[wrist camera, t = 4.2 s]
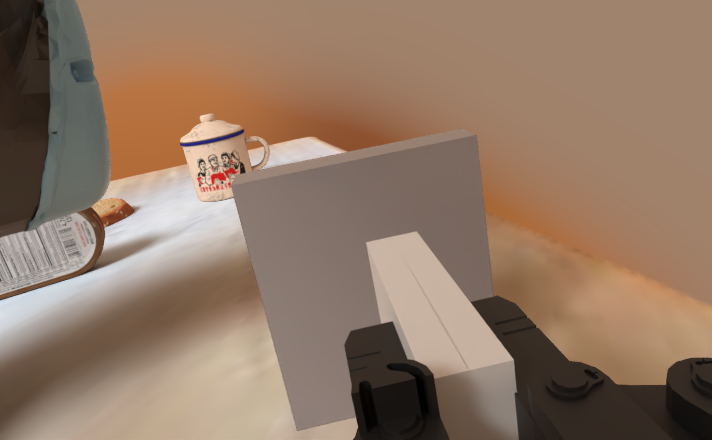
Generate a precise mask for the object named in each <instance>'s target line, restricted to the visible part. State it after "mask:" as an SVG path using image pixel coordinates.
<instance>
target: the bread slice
mask: <svg viewBox="0 0 712 440" xmlns="http://www.w3.org/2000/svg"><path fill="white" fill-rule="evenodd" d="M91 207H92V208H93V209H94V210H95V211H96V212H97V214H98V215H99V216H100V218H101V220H102V222H103V225H104V228H105V227H107V226H110V225H112V224H114V223H116V222H118V221H120V220H122V219H124V218H126V217H128V216H129V215H131V214H132V213H133V211H134V209H133V208H132V207H131V206H130V205H129V204H128V203H126V202H125V201H124V200H122V199H114V198H111V199H105V200H100V201H98V202H97V203H96V204H94V205H93V206H91Z"/></svg>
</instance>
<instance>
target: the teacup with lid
mask: <svg viewBox="0 0 712 440" xmlns="http://www.w3.org/2000/svg"><path fill="white" fill-rule="evenodd" d="M214 119H215V117H214V115H213V114H206V115H202V116H201V117H200V121H201V122H202V123H201V124H198V125H196V126H195V127H194V128H193V129H192V131H191V132H190V133H188V134H187V135H185V136H183V137H182V138H181V140H180V142H181V143H180V145H181V146H183V149H184V153H185V156H186V160H187V163H188V166H189V170H190V173H191V177H192V180H193V183H194V187H195V190H196V193H197V197H198V199H199V200H200V201H204V202H213V201H220V200H226V199H230V198H234V196H233V192H232V188H231V184H232V182H233V180H234V178H235V176H236V175H238V174H243V173H248V172H253V171H257V170H259V169H261V168H263V167H264V166H265V165H266V163H267V161H268V159H269V146H268V144H267V142H266V141H265V140H264V139H262V138H260V137H257V136H252V137H248V138H244V135H243V133H244V130H243V129H242V127H241V126H240V125H233V124H229V123H227V122H224V121H221V120H214ZM252 141H258V142H260V143H262V144H263V146H264V149H265V154H264V158H263V160H262V162H261V163H259V164H258V165H255V166H252V167H251V163H250V159H249V155H248V151H247V147H246V143H248V142H252Z"/></svg>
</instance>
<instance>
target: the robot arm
mask: <svg viewBox="0 0 712 440" xmlns="http://www.w3.org/2000/svg"><path fill="white" fill-rule="evenodd" d="M93 72H94V66H93V62H92V58H91V51H90V45H89V41H88V37H87V33H86V30H85V26H84V23H83V20H82V16H81V13H80V10H79V7H78V4H77V2H76V0H0V237H4V236H7V235H11V234H15V233H19V232H28V231H31V230H35V229H37V228H38V227H40V226H41V224H43V223H46V222H49V221H52V220H55V219H58V218H61V217H64V216H67V215H70V214H73V213H76V212H79V211H82V210H85V209H88V208H89V207H91V206H93V205H94V204H96V203H97V202H98V201H99V200H100V199H101V198H102V197H103V196H104V194H105V193H106V190H107V188H108V186H109V182H110V175H111V161H110V148H109V139H108V132H107V125H106V119H105V113H104V108H103V103H102V98H101V93H100V89H99V84H98V82H97V80H96V78H95V76H94V74H93ZM366 245H367V251H368V256H369V261H370V267H371V272H372V277H373V283H374V288H375V293H376V299H377V304H378V309H379V315H380V320H381V324H378V325H374V326H369V327H365V328H360V329H356V330H352V331H350V333H349V335H348V338H347V340H346V342H345V344H344V347H345V352H346V358H347V363H348V368H349V373H350V379H351V384H352V389H351V396H352V401H353V405H354V410H355V415H356V419H357V424H358V429H357V433H356V436H355V438H354V439H353V440H712V358H689V359H685V360H682V361H678V362H676V363H675V364H674V365H672V366H671V367H670V368H669V369H668V373H667V379H666V385H618V384H615V383H614V382H613V381H612V380H611V379H610V378H609V377H608V376H607V375H606V374H604V373H603V372H601V371H600V370H598V369H597V368H595V367H592V366H589V365H587V364H584V363H581V362H572V361H569V360H568V359H567V358H566V357H565V356H564V355H563V354H562V353H561V352H560V351H559V350H558V348H557V347H556V346H555V345H554V344H553V343H552V342H551V341H550V340H549V339H548V338H547V337H546V336H545V335H544V334H543V333H542V331H541V330H540V329H539V328H536V325H535V324H534V323H533V322H532V321H531V320H530V319H529V318H527V316H526V314H525V313H524V312H523V311H522V310H521V309H520V308H519V307H518V306H517V305H516V304H515V303H512V302H510V301H508V300H506V299H504V298H501V297H499V296H494V297H490V298H485V299H481V300H476V301H472V302H470V301H469V300H468V299H467V297H466V296H465V295H464V293H463V292H462V291H461V289H460V288H459V287H458V285H457V284H456V283H455V281H454V280H453V279H452V277H451V276H450V275H449V274H448V272H447V271H446V270H445V268H444V267H443V266H442V264H441V263H440V262H439V260H438V259H437V258H436V256H435V255H434V254H433V252H432V251H431V250H430V248H429V247H428V246H427V244H426V243H425V242H424V240H423V239H422V238H421V236H420V235H419V234H418V233H417V231H416V232H411V233H407V234H402V235H397V236H393V237H388V238H384V239H379V240H374V241H370V242H366Z"/></svg>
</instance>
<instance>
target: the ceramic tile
mask: <svg viewBox="0 0 712 440" xmlns="http://www.w3.org/2000/svg"><path fill="white" fill-rule="evenodd" d="M231 188H232V192H233V196H234V199H235V203H236V207H237V210H238V214H239V218H240V221H241V225H242V229H243V233H244V236H245V240H246V244H247V247H248V251H249V255H250V258H251V262H252V266H253V269H254V273H255V277H256V281H257V284H258V288H259V292H260V295H261V299H262V303H263V306H264V310H265V314H266V317H267V321H268V325H269V329H270V332H271V336H272V340H273V343H274V347H275V351H276V354H277V358H278V362H279V366H280V369H281V373H282V377H283V380H284V384H285V388H286V391H287V395H288V399H289V402H290V406H291V410H292V414H293V417H294V421H295V425H296V428H297V431H300V430H304V429H308V428H312V427H316V426H320V425H325V424H329V423H333V422H337V421H341V420H346V419H350V418H354V417H356V415H355V410H354V405H353V401H352V396H351V389H352V384H351V379H350V373H349V368H348V363H347V358H346V352H345V347H344V344H345V342H346V340H347V338H348V335H349V333H350V331H352V330H356V329H360V328H365V327H369V326H374V325H378V324H381V320H380V315H379V309H378V304H377V299H376V293H375V288H374V283H373V277H372V272H371V267H370V261H369V256H368V251H367V245H366V242H370V241H374V240H379V239H384V238H388V237H393V236H397V235H402V234H407V233H411V232H416V231H417V233H418V234H419V235H420V236H421V238H422V239H423V240H424V242H425V243H426V244H427V246H428V247H429V248H430V250H431V251H432V252H433V254H434V255H435V256H436V258H437V259H438V260H439V262H440V263H441V264H442V266H443V267H444V268H445V270H446V271H447V272H448V274H449V275H450V276H451V277H452V279H453V280H454V281H455V283H456V284H457V285H458V287H459V288H460V289H461V291H462V292H463V293H464V295H465V296H466V297H467V299H468V300H469V301H470V302H472V301H476V300H481V299H485V298H490V297H494V295H493V286H492V276H491V266H490V257H489V247H488V237H487V228H486V218H485V209H484V200H483V189H482V181H481V170H480V161H479V151H478V141H477V135H476V134H473V133H470V132H468V131H465V130H462V129H459V130H453V131H448V132H443V133H439V134H434V135H429V136H424V137H419V138H414V139H409V140H405V141H400V142H394V143H390V144H385V145H380V146H375V147H370V148H365V149H360V150H355V151H351V152H346V153H341V154H336V155H331V156H326V157H321V158H316V159H311V160H306V161H302V162H297V163H292V164H287V165H282V166H277V167H272V168H267V169H262V170H257V171H253V172H248V173H243V174H238V175H236V176H235V178H234V180H233V182H232V184H231Z"/></svg>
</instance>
